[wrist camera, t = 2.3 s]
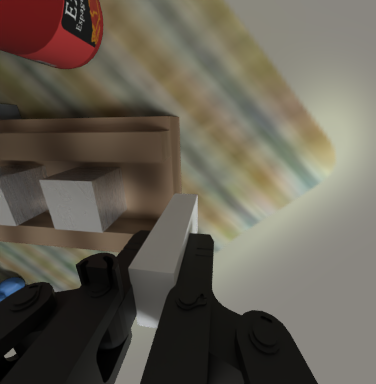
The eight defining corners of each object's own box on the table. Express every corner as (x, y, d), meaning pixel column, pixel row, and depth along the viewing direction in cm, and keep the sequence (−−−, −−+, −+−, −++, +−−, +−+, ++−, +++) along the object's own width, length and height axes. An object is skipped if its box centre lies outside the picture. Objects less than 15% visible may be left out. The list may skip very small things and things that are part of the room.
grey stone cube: (22, 203, 19) (-25, 223, 15) (8, 165, 17) (-48, 176, 14) (56, 204, 18) (16, 226, 15) (44, 165, 17) (-4, 178, 13)
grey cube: (88, 206, 18) (55, 229, 14) (79, 166, 16) (39, 179, 13) (127, 208, 17) (102, 232, 14) (120, 167, 16) (91, 181, 12)
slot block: (56, 217, 24) (3, 249, 18) (25, 120, 20) (-58, 120, 14) (182, 225, 22) (169, 265, 16) (179, 117, 17) (159, 115, 11)
